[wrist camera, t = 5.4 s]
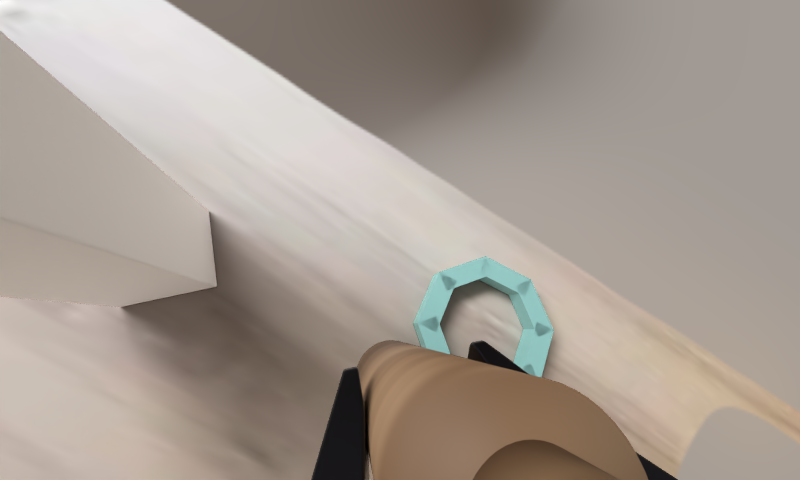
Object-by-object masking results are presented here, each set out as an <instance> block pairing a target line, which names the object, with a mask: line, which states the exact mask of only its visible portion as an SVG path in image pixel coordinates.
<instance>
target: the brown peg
mask: <svg viewBox="0 0 800 480" xmlns="http://www.w3.org/2000/svg"><path fill="white" fill-rule="evenodd" d="M357 368H358V370H359V376H360V382H361V388H362V395H363V401H364V409H365V420H366V436H367V447H368V452H369V457H370V463H371V468H372V473H373V478H374V480H648V478H647V475H646V472H645V470H644V468H643V466H642V464H641V462H640V460H639V458H638V456H637V454H636V452H635V451H634V449H633V447H632V446H631V444H630V443H629V441H628V439H627V438H626V436H625V435H624V434H623V432H622V431H621V430H620V429H619V427H618V426H617V425H616V423H615V422H614V421H613V420H612V419H611V418H610V417H609V416H608V415H607V414H606V413H605V412H604V411H603V410H602V409H601V408H600V407H599V406H598V405H596V404H595V403H594V402H593V401H591V400H590V399H589V398H587V397H586V396H584V395H583V394H581V393H580V392H578V391H576V390H575V389H573V388H570V387H568V386H566V385H564V384H562V383H559V382H556V381H552V380H549V379H545V378H542V377H538V376H534V375H530V374H526V373H522V372H518V371H514V370H510V369H506V368H502V367H498V366H494V365H490V364H486V363H482V362H478V361H474V360H470V359H467V358H463V357H459V356H455V355H451V354H447V353H443V352H439V351H435V350H431V349H427V348H423V347H419V346H415V345H411V344H407V343H403V342H399V341H394V340H388V341H383V342H380V343H377V344H375V345H374V346H372V347H371V348H370V349H368V350H367V351H366V352H365V354H364V355H363V356H362V358H361V360H360V361H359V364H358V366H357Z"/></svg>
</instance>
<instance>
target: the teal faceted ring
mask: <svg viewBox="0 0 800 480" xmlns="http://www.w3.org/2000/svg"><path fill="white" fill-rule="evenodd" d="M475 280H480V281H482V282H484V283H486V284H488V285H490V286H492V287H494V288H496V289H498V290H500V291H502V292H504V293H506V294H508V295H509V297H510V299H511V301H512V304H513V306H514V308H515V311H516V313H517V315H518V318H519V320H520V322H521V325H522V327H523V332H522V336H521V339H520V342H519V346H518V349H517V352H516V356H515V359H514V362H513V363H515V364H516V365H518V366H519V367H520V368H522V369H523V370H524V371H526V372H527V373H528V374H530V375H534V376H538V377H542V373H543V369H544V365H545V362H546V358H547V354H548V350H549V346H550V343H551V339H552V335H553V331H554V330H553V328H552V325H551V323H550V321H549V319H548V316H547V314H546V312H545V310H544V307H543V305H542V303H541V301H540V299H539V296H538V294H537V292H536V290H535V287H534V285H533V283H532V281H531V279H529V278H527V277H525V276H523V275H521V274H519V273H517V272H515V271H513V270H511V269H509V268H507V267H505V266H504V265H502V264H500V263H498V262H496V261H494V260H492V259H490V258H488V257H486V256H485V257H482V258H479V259H476V260H473V261H470V262H467V263H465V264H462V265H459V266H456V267H453V268H450V269H447V270H444V271H441V272H439V273H437V274H435V275H434V276H433V278H432V281H431V283H430V285H429V288H428V290H427V292H426V295H425V297H424V299H423V301H422V304H421V306H420V308H419V311H418V313H417V315H416V318H415V320H414V322H413V324H414V327H415V330H416V333H417V336H418V339H419V342H420V344H421V347H423V348H427V349H431V350H435V351H439V352H443V353H447V354H450V351H449V349H448V346H447V343H446V341H445V338H444V335H443V332H442V330H441V327H440V322H441V319H442V317H443V314H444V312H445V309H446V307H447V304H448V302H449V299H450V297H451V294H452V292H453V289H454V288H456V287H459V286H461V285H464V284H467V283H470V282H472V281H475Z"/></svg>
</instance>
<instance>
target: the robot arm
mask: <svg viewBox="0 0 800 480" xmlns="http://www.w3.org/2000/svg"><path fill="white" fill-rule="evenodd" d="M468 359H470V360H474V361H478V362H482V363H486V364H490V365H494V366H498V367H502V368H506V369H510V370H514V371H518V372H522V373H526V374H528V373H527V372H526V371H524V370H523V369H522V368H520V367H519V366H518V365H516V364H515V363H513V362H512V361H511V360H509V359H508V358H507V357H505V356H504V355H503V354H501V353H500V352H499V351H497V350H496V349H494V348H493V347H492V346H490V345H489V344H488V343H486V342H485V341H476V342H472V343H471V344H470V347H469V353H468ZM636 454H637V456H638V458H639V460H640V462H641V464H642V466H643V468H644V470H645V472H646V475H647V478H648V480H678V479H676V478H674V477H673V476H671V475H670V474H668V473H667V472H665V471H664V470H662V469H661V468H659V467H658V466H656V465H655V464H653V463H652V462H650V461H648V460H647V459H645V458H644V457H642V456H641V455H639V454H638V453H636ZM311 480H369V455H368V447H367V436H366V420H365V409H364V401H363V395H362V388H361V382H360V376H359V370H358V368H357V367H352V368H347V369H345V370H344V371H343V373H342V377H341V380H340V383H339V387H338V390H337V394H336V397H335V400H334V404H333V407H332V411H331V414H330V417H329V421H328V424H327V428H326V431H325V435H324V438H323V441H322V445H321V448H320V452H319V455H318V458H317V462H316V465H315V469H314V472H313V475H312V479H311Z"/></svg>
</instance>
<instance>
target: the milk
mask: <svg viewBox="0 0 800 480" xmlns="http://www.w3.org/2000/svg"><path fill="white" fill-rule="evenodd" d="M216 286H217V281H216V272H215V263H214V254H213V245H212V236H211V227H210V218H209V210H208V209H207V208H206V207H204V206H203V205H202V204H201V203H200V202H199V201H197V200H196V199H195V198H194V197H193V196H192V195H190V194H189V193H188V192H187V191H186V190H185V189H183V188H182V187H181V186H180V185H179V184H178V183H176V182H175V181H174V180H173V179H172V178H171V177H170V176H168V175H167V174H166V173H165V172H164V171H163V170H161V169H160V168H159V167H158V166H157V165H156V164H154V163H153V162H152V161H151V160H150V159H149V158H147V157H146V156H145V155H144V154H143V153H142V152H141V151H139V150H138V149H137V148H136V147H135V146H134V145H132V144H131V143H130V142H129V141H128V140H127V139H125V138H124V137H123V136H122V135H121V134H120V133H118V132H117V131H116V130H115V129H114V128H113V127H111V126H110V125H109V124H108V123H107V122H106V121H105V120H103V119H102V118H101V117H100V116H99V115H98V114H96V113H95V112H94V111H93V110H92V109H91V108H89V107H88V106H87V105H86V104H85V103H84V102H82V101H81V100H80V99H79V98H78V97H77V96H75V95H74V94H73V93H72V92H71V91H70V90H69V89H67V88H66V87H65V86H64V85H63V84H62V83H60V82H59V81H58V80H57V79H56V78H55V77H53V76H52V75H51V74H50V73H49V72H48V71H46V70H45V69H44V68H43V67H42V66H41V65H39V64H38V63H37V62H36V61H35V60H34V59H33V58H31V57H30V56H29V55H28V54H27V53H26V52H24V51H23V50H22V49H21V48H20V47H19V46H17V45H16V44H15V43H14V42H13V41H12V40H10V39H9V38H8V37H7V36H6V35H5V34H3V33H2V32H1V31H0V297H9V298H20V299H31V300H43V301H54V302H65V303H77V304H88V305H99V306H111V307H123V306H128V305H132V304H137V303H142V302H146V301H151V300H156V299H161V298H165V297H170V296H175V295H180V294H184V293H189V292H194V291H199V290H203V289H208V288H213V287H216Z"/></svg>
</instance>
